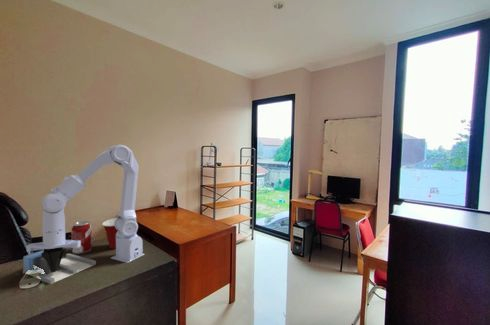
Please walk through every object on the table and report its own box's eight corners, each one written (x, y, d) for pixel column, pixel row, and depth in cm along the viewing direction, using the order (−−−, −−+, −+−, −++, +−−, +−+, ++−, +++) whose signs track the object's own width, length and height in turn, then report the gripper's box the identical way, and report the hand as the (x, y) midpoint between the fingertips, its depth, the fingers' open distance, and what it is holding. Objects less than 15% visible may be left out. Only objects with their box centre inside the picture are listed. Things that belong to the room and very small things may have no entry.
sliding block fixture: (95, 265, 83) (95, 248, 83) (50, 285, 70) (50, 265, 70) (68, 257, 90) (68, 241, 89) (23, 274, 77) (22, 256, 77)
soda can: (81, 256, 91) (81, 226, 91) (67, 254, 92) (67, 225, 92) (95, 249, 98) (95, 221, 97) (82, 247, 99) (82, 220, 99)
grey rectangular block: (59, 270, 79) (59, 257, 79) (47, 274, 76) (47, 261, 76) (44, 264, 83) (44, 251, 83) (32, 268, 80) (32, 255, 80)
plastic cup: (99, 247, 100) (99, 220, 99) (126, 240, 107) (125, 215, 107) (106, 255, 92) (105, 225, 92) (134, 247, 100) (134, 220, 99)
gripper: (84, 224, 81) (85, 262, 81) (36, 227, 78) (37, 266, 78) (74, 231, 74) (75, 272, 74) (21, 234, 71) (22, 277, 71)
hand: (55, 270), depth 76 cm, fingers closed
